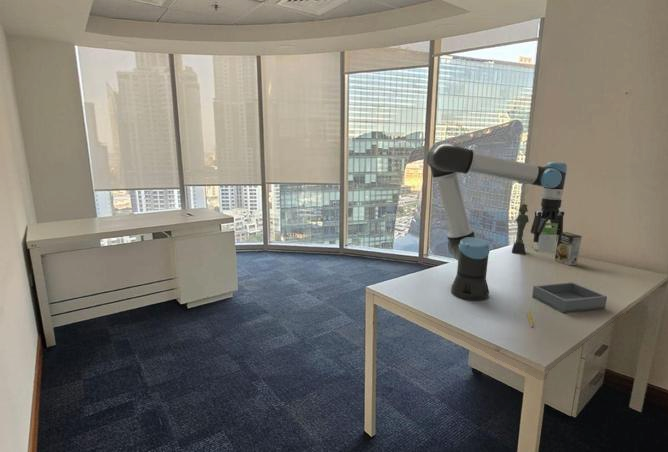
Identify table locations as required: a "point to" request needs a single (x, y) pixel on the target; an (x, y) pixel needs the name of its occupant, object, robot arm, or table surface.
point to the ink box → (548, 238)
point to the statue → (520, 230)
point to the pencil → (530, 319)
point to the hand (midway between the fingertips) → (544, 248)
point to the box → (569, 297)
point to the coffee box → (568, 248)
